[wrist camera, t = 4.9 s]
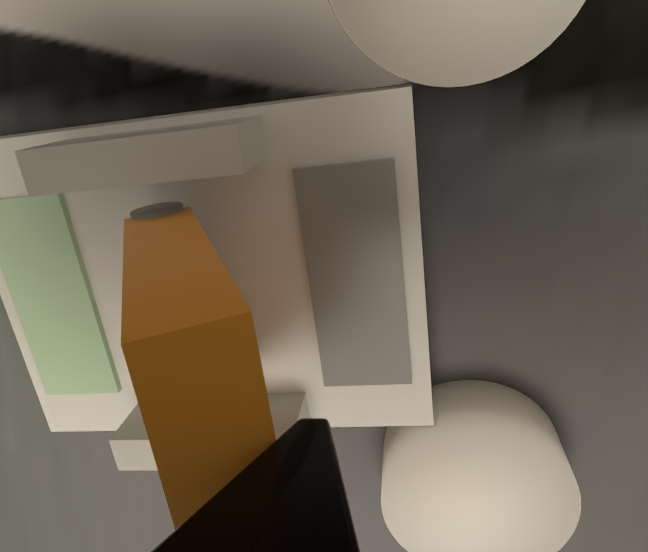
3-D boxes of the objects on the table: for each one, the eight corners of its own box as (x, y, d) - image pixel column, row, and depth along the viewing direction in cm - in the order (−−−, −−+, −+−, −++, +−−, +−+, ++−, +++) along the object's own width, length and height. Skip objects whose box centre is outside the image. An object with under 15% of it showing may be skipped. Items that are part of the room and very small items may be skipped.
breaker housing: (411, 83, 14) (412, 90, 10) (430, 385, 17) (437, 476, 13) (-2, 135, 16) (-125, 158, 12) (85, 395, 19) (8, 476, 15)
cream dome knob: (542, 363, 16) (564, 412, 14) (570, 503, 18) (594, 566, 16) (363, 396, 17) (358, 447, 15) (406, 523, 19) (407, 584, 17)
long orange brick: (186, 197, 13) (249, 303, 6) (226, 379, 15) (309, 613, 8) (123, 209, 13) (118, 335, 6) (172, 395, 15) (212, 654, 8)
